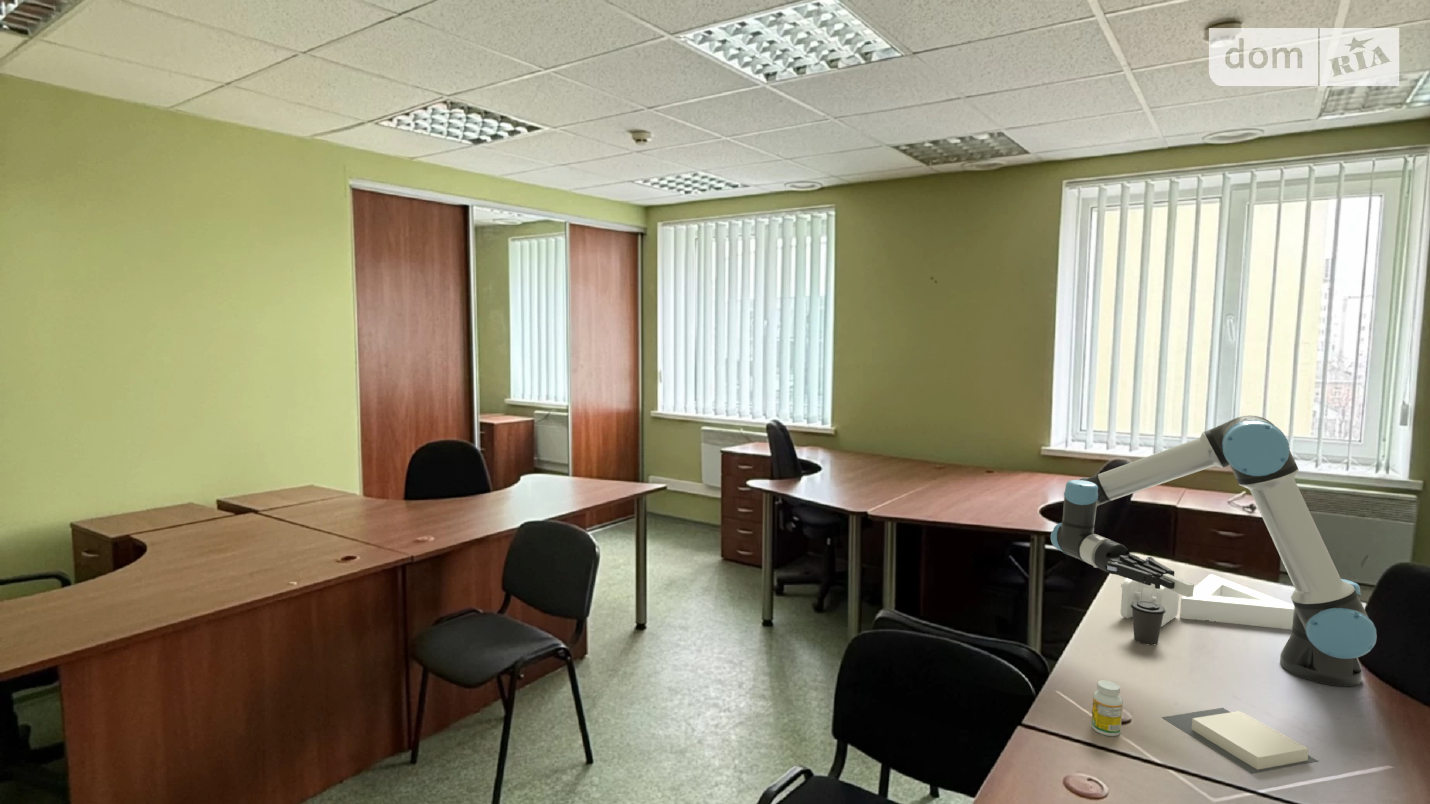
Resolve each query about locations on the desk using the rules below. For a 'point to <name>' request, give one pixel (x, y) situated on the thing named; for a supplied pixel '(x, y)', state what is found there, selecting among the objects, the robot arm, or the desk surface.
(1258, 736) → the tile
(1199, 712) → the mat
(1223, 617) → the triangle block
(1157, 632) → the coffee cup
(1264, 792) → the desk surface
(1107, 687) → the supplement bottle
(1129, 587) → the cable organizer
